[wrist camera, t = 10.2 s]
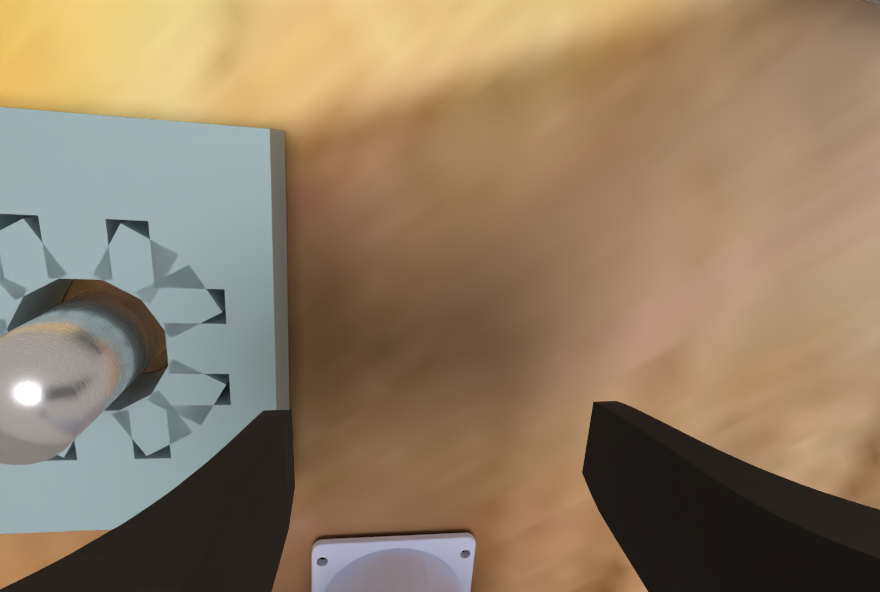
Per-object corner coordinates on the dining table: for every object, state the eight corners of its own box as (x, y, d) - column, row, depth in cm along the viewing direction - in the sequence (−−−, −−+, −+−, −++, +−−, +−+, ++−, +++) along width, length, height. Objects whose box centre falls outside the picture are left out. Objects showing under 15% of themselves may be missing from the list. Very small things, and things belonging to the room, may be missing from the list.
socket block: (290, 474, 22) (279, 522, 20) (-5, 482, 20) (-65, 536, 18) (285, 131, 18) (269, 128, 15) (-89, 101, 16) (-185, 92, 13)
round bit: (178, 361, 20) (84, 467, 13) (86, 354, 19) (-59, 462, 13) (177, 282, 19) (77, 354, 13) (82, 272, 19) (-77, 343, 12)
